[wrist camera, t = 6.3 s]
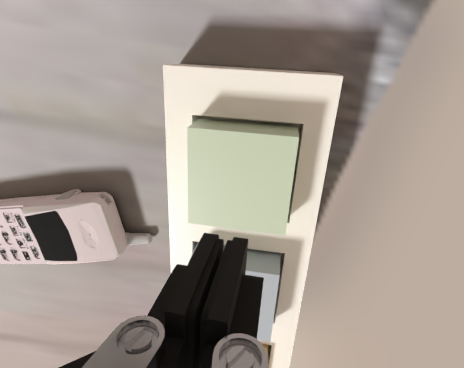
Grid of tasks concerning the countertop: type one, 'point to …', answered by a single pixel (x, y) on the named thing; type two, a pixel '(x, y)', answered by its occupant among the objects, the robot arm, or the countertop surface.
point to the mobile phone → (63, 229)
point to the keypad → (305, 175)
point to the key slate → (264, 286)
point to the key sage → (240, 174)
